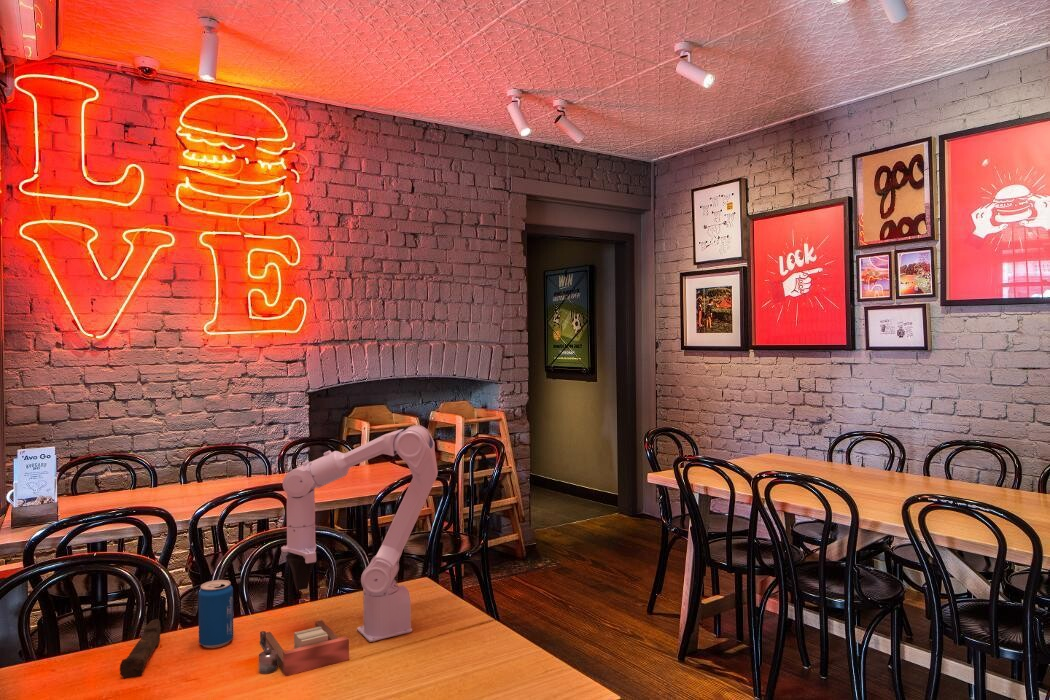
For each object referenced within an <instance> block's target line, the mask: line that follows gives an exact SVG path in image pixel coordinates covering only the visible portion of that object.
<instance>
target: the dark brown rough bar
mask: <svg viewBox="0 0 1050 700" xmlns="http://www.w3.org/2000/svg"><path fill="white" fill-rule="evenodd" d="M160 639H161V621H160V619H158V618H155V619H153V620H150V621H149V623H148V624H146V625H145V627H144V628H143V634H142V635H141V637H140V639H139V640H138V641H137V642H136V644H135V646H134V647H133V649H132V650H131V651H130V652H129V654H128V656H126V658H124V659H122V660H121V662H120V665H119V675H120V676H121V677H122V678H123V679H128V678H129V679H131V678H137V677H140V676H141V675H142V674H143V672H144V669H145V666H146V664H147V662H148V661H149V658H150V657H151V656H152V654H153V651H154V650H155V649H157V648H158V647H159V645H160V642H161V641H160Z"/></svg>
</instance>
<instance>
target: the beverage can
mask: <svg viewBox="0 0 1050 700" xmlns="http://www.w3.org/2000/svg"><path fill="white" fill-rule="evenodd" d="M197 596H198V597H197V598H198V602H197V603H198V604H197V605H198V606H197V607H198V644H199V645H201V646H203V648H207V649H215V648H216V649H218V648H220V647H224V646H226V645H227V644H229V643H230V641H232V640H233V638H234V587H233V586H232V585H231V581H230V580H228V579H227V580H226V579H216V580H209V581H206V582H204V583H202V584H201V585H200V589H199V590H198V594H197Z"/></svg>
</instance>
